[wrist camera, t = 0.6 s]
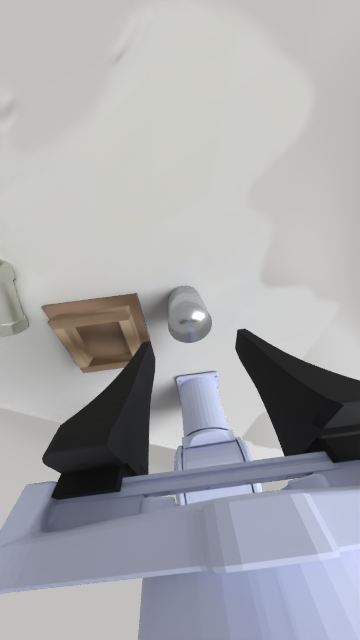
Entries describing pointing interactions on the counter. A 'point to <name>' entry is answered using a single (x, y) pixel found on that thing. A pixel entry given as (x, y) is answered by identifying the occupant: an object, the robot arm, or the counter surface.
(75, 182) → the counter surface
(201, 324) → the silver metal cylinder
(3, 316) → the pipe fitting
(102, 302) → the cradle board
